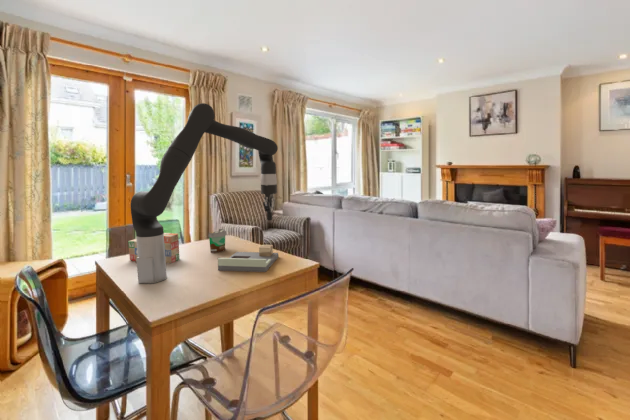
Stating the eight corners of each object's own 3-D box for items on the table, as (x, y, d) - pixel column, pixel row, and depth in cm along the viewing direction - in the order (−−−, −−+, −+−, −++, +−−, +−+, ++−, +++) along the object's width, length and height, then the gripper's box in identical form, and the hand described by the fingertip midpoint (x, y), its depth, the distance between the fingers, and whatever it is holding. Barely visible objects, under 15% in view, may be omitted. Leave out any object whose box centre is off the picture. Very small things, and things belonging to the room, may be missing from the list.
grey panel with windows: (265, 271, 133) (265, 259, 132) (218, 270, 135) (217, 258, 134) (278, 256, 154) (278, 246, 154) (237, 255, 157) (236, 245, 156)
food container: (221, 253, 161) (220, 233, 159) (209, 253, 162) (208, 233, 160) (231, 247, 173) (230, 228, 171) (220, 247, 174) (219, 228, 172)
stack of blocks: (129, 261, 150) (127, 234, 148) (138, 257, 156) (136, 231, 154) (172, 263, 146) (170, 236, 144) (180, 259, 152) (178, 233, 150)
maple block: (270, 256, 148) (269, 247, 148) (259, 255, 149) (259, 247, 148) (272, 253, 153) (272, 244, 153) (262, 253, 154) (262, 244, 153)
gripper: (264, 182, 162) (265, 217, 165) (256, 184, 149) (258, 222, 152) (279, 182, 161) (280, 217, 164) (273, 184, 148) (274, 222, 151)
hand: (269, 219), depth 158 cm, fingers closed
